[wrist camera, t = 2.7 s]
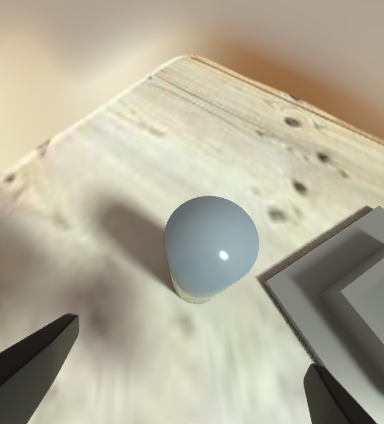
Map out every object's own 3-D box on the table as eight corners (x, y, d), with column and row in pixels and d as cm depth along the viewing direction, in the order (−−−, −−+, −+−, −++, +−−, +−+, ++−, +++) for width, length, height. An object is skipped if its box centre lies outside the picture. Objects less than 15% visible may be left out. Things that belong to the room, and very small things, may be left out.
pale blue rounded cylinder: (187, 314, 19) (195, 307, 9) (163, 268, 20) (147, 220, 11) (229, 287, 20) (278, 254, 10) (204, 245, 22) (224, 183, 12)
